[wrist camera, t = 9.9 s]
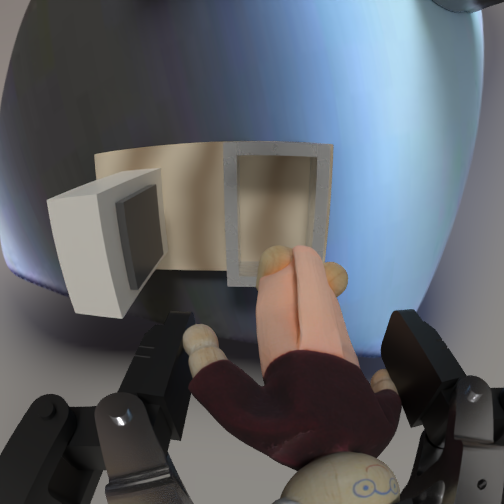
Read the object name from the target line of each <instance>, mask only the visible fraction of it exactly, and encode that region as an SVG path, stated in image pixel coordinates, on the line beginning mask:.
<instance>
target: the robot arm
mask: <svg viewBox="0 0 504 504" xmlns="http://www.w3.org/2000/svg"><path fill="white" fill-rule="evenodd" d="M433 1H434V2H435V3H437V4H438V5H440V6H442V7H443V8H445V9H447V10H449V11H453V12H463V11H467V12H469V13H473V12H476V11H479V10H481V9H484V8H487V7H490V6H493V5H496V4H499V3H502V2H504V0H433ZM193 325H195V318H194V314H193V312H178V311H171V312H170V313H169V315H168V317H167V319H166V322H165V324H164V325H155V326H154V327H152V328H151V329H150V330H149V331H148V332H147V333H146V334H145V335H144V337H143V339H142V341H141V343H140V347H138V349H137V351H136V354H135V356H134V358H133V360H132V362H131V364H130V366H129V368H128V371H127V373H126V375H125V377H124V379H123V381H122V384H121V386H120V388H119V390H118V392H117V393H113V394H110V395H108V396H106V397H104V398H103V399H102V400H101V401H100V402H99V403H98V405H97V406H92V407H69V406H68V404H67V403H66V401H65V400H64V399H63V398H62V397H60V396H58V395H55V394H46V395H43V396H41V397H39V398H38V399H36V400H35V401H34V402H33V403H32V404H31V406H30V407H29V409H28V411H27V412H26V413H25V415H24V417H23V418H22V420H21V422H20V423H19V424H18V426H17V428H16V429H15V431H14V433H13V434H12V436H11V438H10V439H9V441H8V443H7V445H6V446H5V448H4V449H3V451H2V453H1V455H0V504H90V503H91V500H92V497H93V495H94V492H95V489H96V487H97V484H98V482H99V480H100V477H101V474H102V472H103V470H107V474H108V477H109V484H107V485H106V487H105V494H106V498H107V502H108V504H194V503H193V502H192V500H191V498H190V496H189V495H188V493H187V491H186V489H185V487H184V485H183V483H182V481H181V479H180V477H179V475H178V473H177V471H176V469H175V466H174V464H173V462H172V460H171V458H170V455H169V453H168V447H169V443H170V439H172V440H179V441H181V438H182V433H183V428H184V424H185V418H186V415H187V410H188V405H189V401H190V396H191V392H190V391H189V389H188V387H189V384H190V382H191V380H192V379H193V378H192V374H191V371H190V367H189V362H188V360H189V355H188V354H187V353H186V352H185V350H184V347H183V334H184V333H185V331H186V330H187V329H188V328H189V327H191V326H193ZM381 357H382V360H383V362H384V364H385V367H386V369H387V371H388V373H389V376H390V378H391V380H392V381H393V383H394V384H395V387H396V389H397V392H398V395H399V397H400V399H401V403H402V406H403V409H404V411H405V414H406V416H407V419H408V422H409V424H410V427H411V428H412V427H416V426H419V425H423V426H424V428H425V429H424V431H423V432H422V434H421V436H420V441H419V445H418V449H417V454H416V457H415V461H414V465H413V469H412V472H411V476H410V479H409V481H408V483H407V485H406V486H405V488H404V489H403V491H402V492H401V494H400V500H399V502H398V503H394V504H504V388H490V387H489V386H488V384H487V383H486V382H485V381H484V380H483V379H481V378H479V377H477V376H472V375H468V376H467V375H466V374H465V372H464V371H463V369H462V368H461V366H460V365H459V363H458V362H457V360H456V359H455V357H454V356H453V354H452V353H451V351H450V350H449V348H448V349H447V346H446V344H445V343H444V341H442V338H441V337H440V335H439V334H438V333H437V331H436V330H435V329H434V328H432V327H431V326H430V325H429V324H427V323H426V322H423V321H422V319H421V318H420V317H419V315H418V314H417V313H416V311H415V310H413V309H409V310H396V311H394V312H393V313H392V314H391V317H390V320H389V323H388V326H387V330H386V333H385V336H384V338H383V341H382V345H381Z"/></svg>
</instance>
